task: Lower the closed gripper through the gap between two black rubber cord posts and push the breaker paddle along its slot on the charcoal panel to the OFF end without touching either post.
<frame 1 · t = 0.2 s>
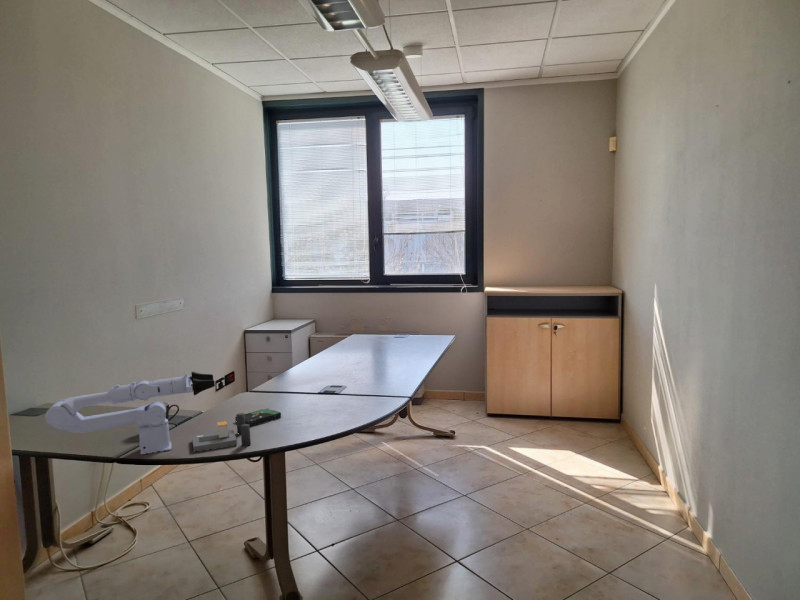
hand: (213, 380, 191), 22 cm above the table, tool horizontal, fingers open, 7 cm apart
cord post 1: (241, 432, 199), on the table
breaker panel: (214, 443, 189), on the table
disk drive: (258, 421, 214), on the table
coffee mug: (163, 430, 205), on the table
breaker paddle: (222, 429, 190), point 5 cm above the table, slide at 0.0 cm
cord post 2: (246, 444, 186), on the table
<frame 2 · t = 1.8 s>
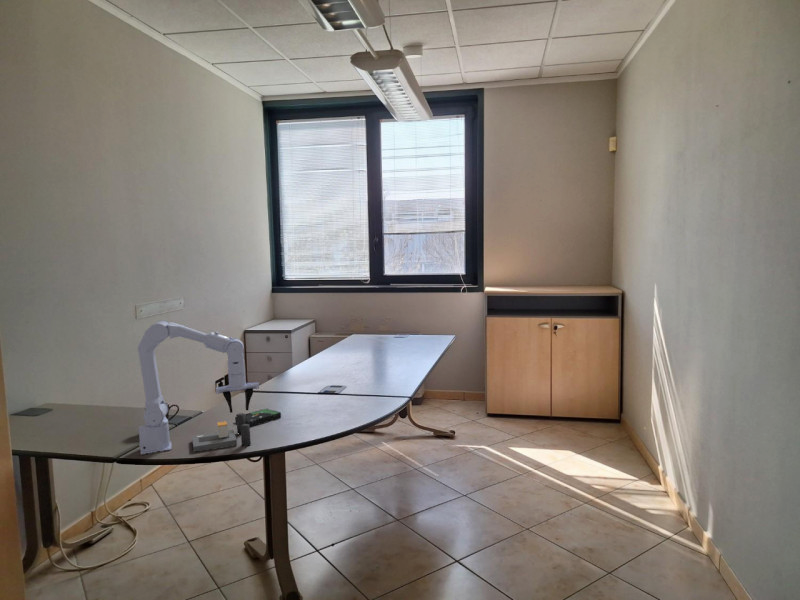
hand: (239, 410, 191), 10 cm above the table, tool pointing down, fingers open, 5 cm apart
nothing on the table moved.
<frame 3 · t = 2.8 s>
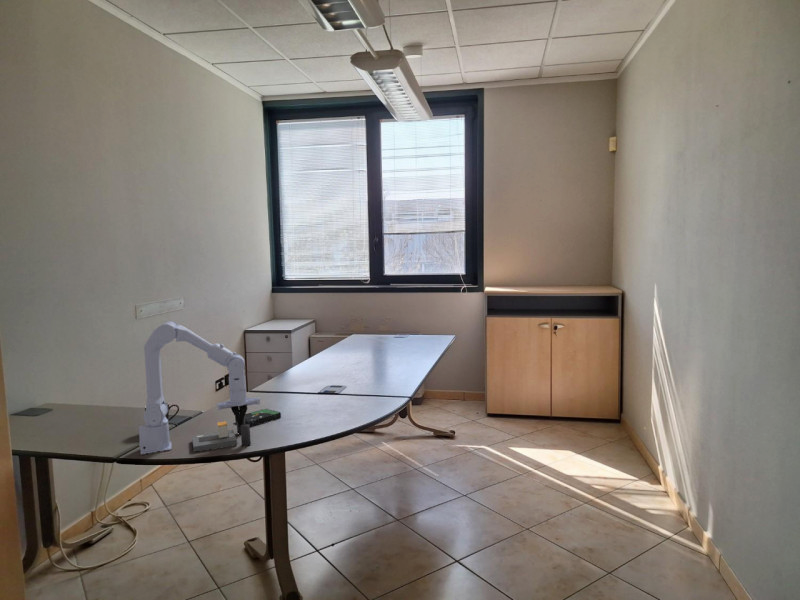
hand: (240, 426, 192), 5 cm above the table, tool pointing down, fingers closed
nothing on the table moved.
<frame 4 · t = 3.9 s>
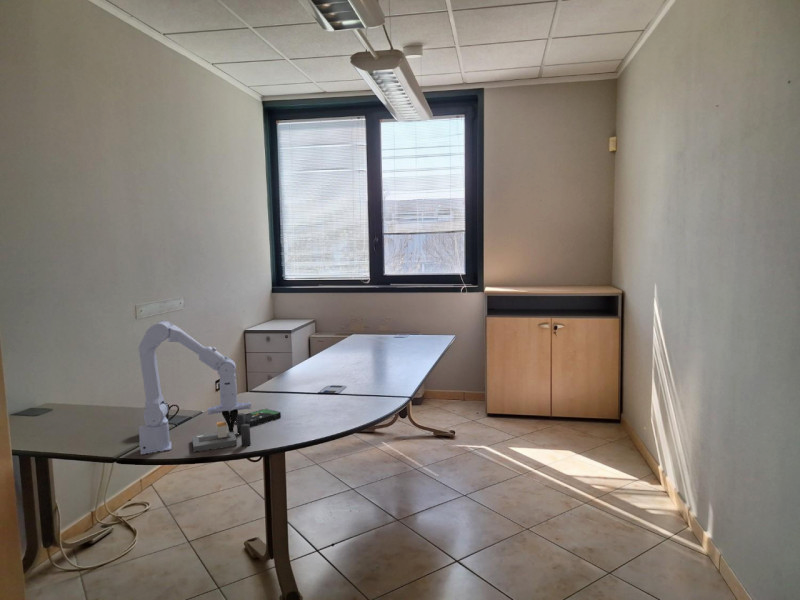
hand: (231, 431, 191), 3 cm above the table, tool pointing down, fingers closed
breaker paddle: (221, 429, 190), point 4 cm above the table, slide at 0.3 cm, touching gripper
everything else where it was.
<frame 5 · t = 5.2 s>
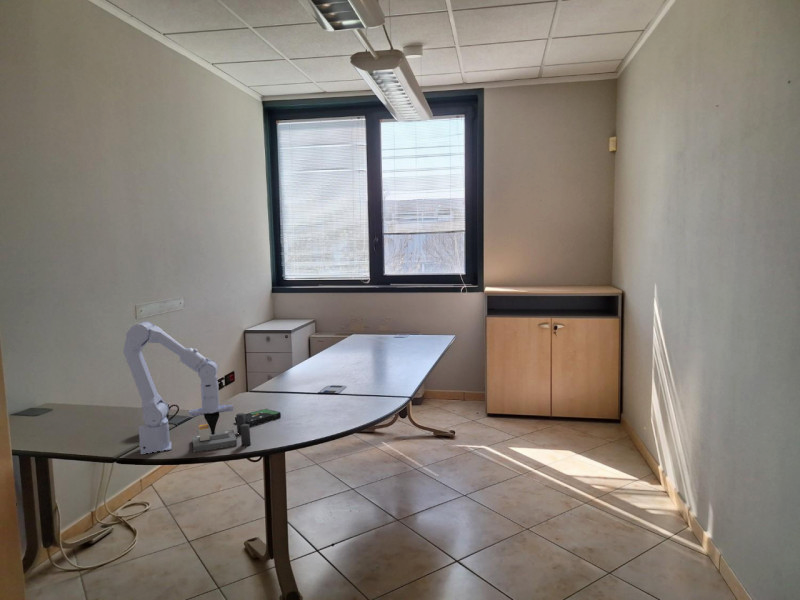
hand: (212, 433, 188), 4 cm above the table, tool pointing down, fingers closed
breaker paddle: (204, 432, 187), point 5 cm above the table, slide at 6.2 cm, touching gripper
everything else where it was.
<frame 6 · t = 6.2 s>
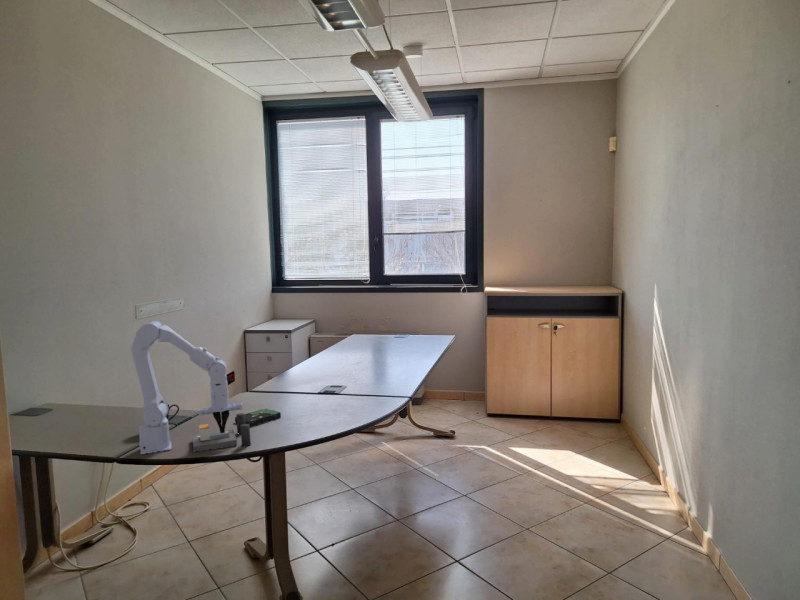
hand: (222, 432, 190), 4 cm above the table, tool pointing down, fingers closed
breaker paddle: (204, 432, 187), point 5 cm above the table, slide at 6.1 cm
everything else where it was.
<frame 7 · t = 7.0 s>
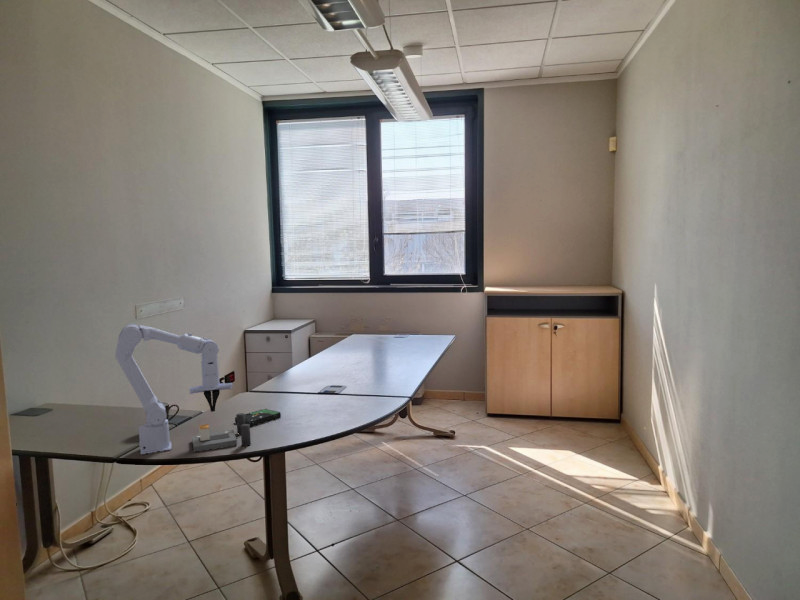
hand: (212, 410, 193), 10 cm above the table, tool pointing down, fingers closed
nothing on the table moved.
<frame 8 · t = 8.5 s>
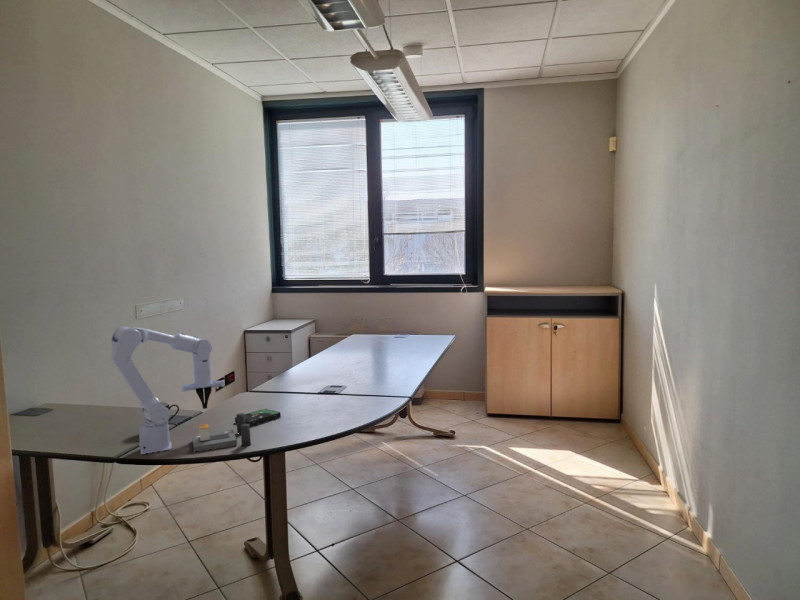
hand: (204, 408, 196), 10 cm above the table, tool pointing down, fingers closed
nothing on the table moved.
at the end: breaker paddle slide at 6.1 cm; cord post 1 moved 0.0 cm from its start; cord post 2 moved 0.0 cm from its start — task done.
